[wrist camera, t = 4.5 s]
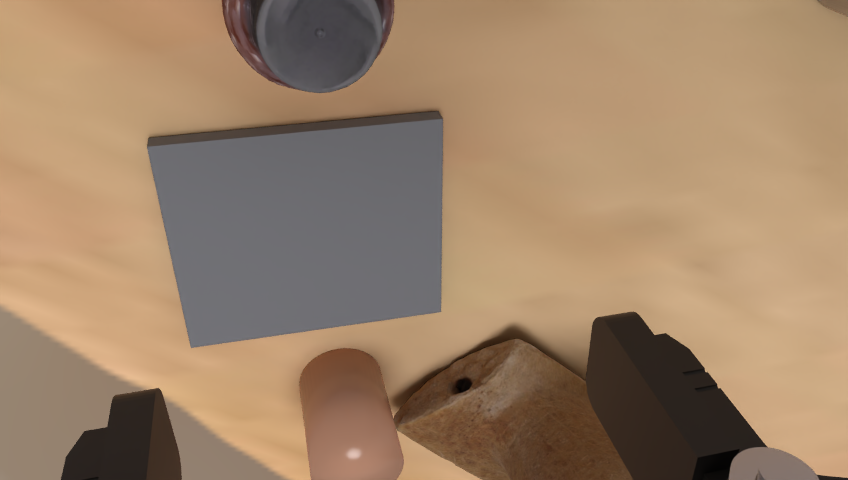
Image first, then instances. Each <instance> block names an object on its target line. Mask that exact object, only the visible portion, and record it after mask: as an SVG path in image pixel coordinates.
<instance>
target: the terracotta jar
mask: <svg viewBox="0 0 848 480" xmlns="http://www.w3.org/2000/svg"><path fill="white" fill-rule="evenodd" d="M299 387H300V395H301V403H302V411H303V419H304V427H305V435H306V443H307V451H308V459H309V467H310V475H311V480H396V479H397V478H398V477H399V475H400V473H401V471H402V469H403V464H404V459H403V454H402V450H401V446H400V442H399V439H398V435H397V431H396V427H395V423H394V420H393V416H392V412H391V408H390V404H389V401H388V397H387V393H386V389H385V385H384V381H383V378H382V374H381V370H380V367H379V365H378V363H377V362H376V360H375V359H374V358H373V357H372V356H370V355H369V354H367V353H365V352H363V351H360V350H356V349H347V348H343V349H336V350H331V351H328V352H325V353H323V354H321V355H319V356H317V357H316V358H314V359H313V360H312V361H311V362H310V363H309V364H308V365H307V366H306V367H305V369H304V370H303V372H302V374H301V377H300V382H299Z"/></svg>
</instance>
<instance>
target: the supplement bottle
mask: <svg viewBox="0 0 848 480" xmlns="http://www.w3.org/2000/svg"><path fill="white" fill-rule="evenodd" d="M222 7H223V15H224V20H225V24H226V27H227V30H228V33H229V35H230V38H231V40H232V42H233V44H234V46H235V47H236V49H237V51H238V52H239V53H240V54H241V56H242V57H243V58H244V59H245V61H246V62H247V63H248V64H249V65H250V66H251V67H252V68H253V69H254V70H256V72H257V73H259V74H261V75H262V76H263V77H265V78H267V79H268V80H269V81H272V82H274V83H276V84H278V85H281V86H286V87H288V88H293V89H297V90H302V91H307V92H314V93H326V92H332V91H336V90H339V89H342V88H345V87H347V86H349V85H351V84H353V83H354V82H356V81H357V80H358V79H360V78H361V77H362V76H363V75H365V73H366V72H367V71H368V70H369V68H370V67H371V66H372V64H373V62H374V60H375V59H376V58H377V56H378V55H379V54H380V52H381V50H382V49H383V47H384V45H385V43H386V42H387V39H388V36H389V34H390V31H391V26H392V23H393V15H394V0H222Z"/></svg>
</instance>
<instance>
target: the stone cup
mask: <svg viewBox="0 0 848 480" xmlns="http://www.w3.org/2000/svg"><path fill="white" fill-rule="evenodd" d="M393 420H394V423H395V427H396V429H397V430H398V431H399V432H401V433H403V434H404V435H406V436H407V437H409V438H410V439H412V440H413V441H415V442H417V443H418V444H420V445H422V446H424V447H425V448H427V449H428V450H430V451H432V452H433V453H435V454H437V455H438V456H440V457H442V458H444V459H446V460H449V461H451V462H453V463H454V464H455V465H456V466H458V467H460V468H462V469H464V470H465V471H467V472H469V473H471V474H473V475H475V476H476V477H478V478H480V479H482V480H633V478H632V477H631V475H630V473H629V471H628V470H627V468H626V466H625V464H624V463H623V461H622V459H621V457H620V456H619V454H618V452H617V450H616V449H615V447H614V445H613V443H612V442H611V440H610V438H609V436H608V435H607V433H606V431H605V429H604V428H603V426H602V424H601V422H600V421H599V419H598V417H597V415H596V414H595V412H594V410H593V408H592V406H591V403H590V400H589V397H588V393H587V387H586V381H585V380H583V379H582V378H580V377H579V376H577V375H576V374H574V373H573V372H571V371H570V370H569V369H567V368H566V367H564V366H563V365H561V364H559V363H558V362H556V361H555V360H553V359H552V358H550V357H549V356H547V355H546V354H544V353H543V352H541V351H540V350H538V349H537V348H535V347H534V346H532V345H531V344H529V343H527V342H525V341H523V340H521V339H512V340H508V341H506V342H503V343H500V344H496V345H493V346H489V347H486V348H483V349H482V350H480V351H477V352H475V353H472V354H470V355H468V356H466V357H464V358H463V359H460V360H458V361H455V362H454V363H453V364H452V365H451V366H450V367H448V368H447V369H445V370H443V371H442V372H440V373H439V374H437V375H436V376H435V377H433V378H432V379H430V380H429V381H427V382H426V383H425V384H424V385H423V386H422V387H421V388H420V389H419V391H417V392H415V393H413V394H412V396H411V397H410V398H409V399H408V400H407V402H406V403H405V404H404V405H403V406H402V407H401V408H400V409H399V411H398V412H397V413H396V414H395V416H394V419H393Z"/></svg>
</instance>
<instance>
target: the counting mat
mask: <svg viewBox="0 0 848 480" xmlns="http://www.w3.org/2000/svg"><path fill="white" fill-rule="evenodd" d="M147 149H148V154H149V158H150V163H151V167H152V172H153V176H154V181H155V186H156V190H157V195H158V199H159V204H160V208H161V213H162V218H163V222H164V227H165V231H166V236H167V240H168V245H169V250H170V254H171V259H172V263H173V268H174V272H175V277H176V282H177V286H178V291H179V295H180V300H181V304H182V309H183V314H184V318H185V323H186V327H187V332H188V336H189V341H190V346H191V348H193V347H200V346H207V345H214V344H221V343H228V342H235V341H242V340H249V339H256V338H263V337H270V336H277V335H284V334H291V333H298V332H305V331H312V330H319V329H326V328H333V327H340V326H347V325H354V324H360V323H367V322H374V321H381V320H388V319H395V318H402V317H409V316H416V315H423V314H430V313H437V312H441V260H442V164H443V118H442V116H441V115H440V113H439V112H438V111H434V112H423V113H412V114H401V115H390V116H380V117H369V118H358V119H347V120H336V121H326V122H315V123H304V124H293V125H282V126H272V127H261V128H250V129H239V130H228V131H218V132H207V133H196V134H185V135H175V136H164V137H153V138H149V139H148V144H147Z"/></svg>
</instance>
